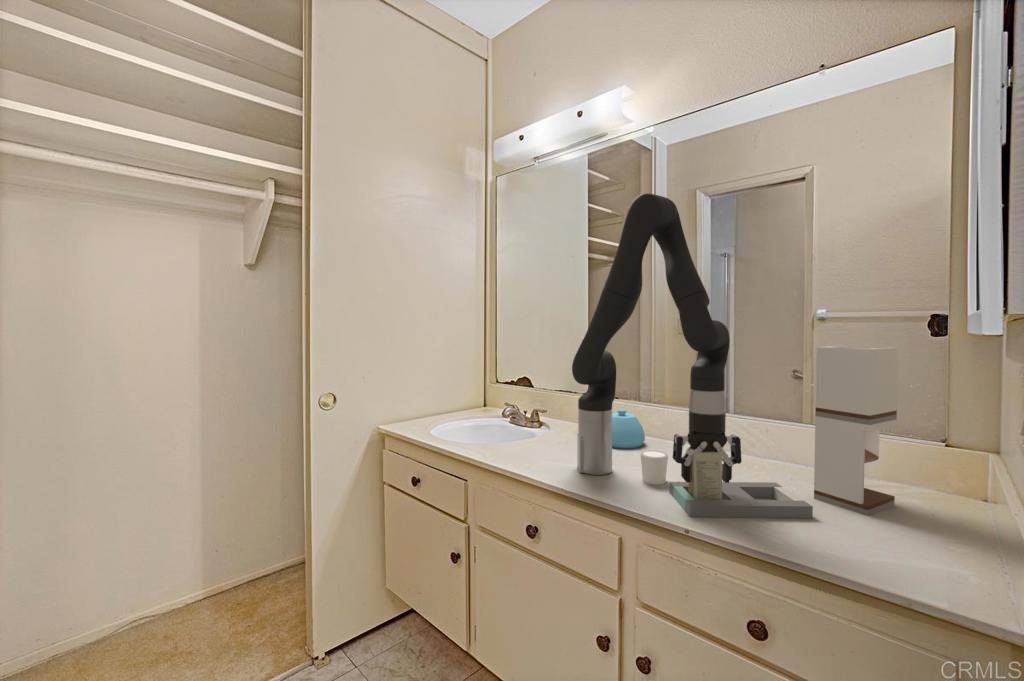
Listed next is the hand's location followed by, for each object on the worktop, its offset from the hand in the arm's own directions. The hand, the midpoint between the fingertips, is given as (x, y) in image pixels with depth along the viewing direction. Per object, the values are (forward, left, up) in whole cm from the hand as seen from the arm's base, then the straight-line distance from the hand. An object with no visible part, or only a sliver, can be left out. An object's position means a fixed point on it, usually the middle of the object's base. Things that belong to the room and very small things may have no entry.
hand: (706, 481), depth 101 cm
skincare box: (0, 0, -5) cm, 5 cm away
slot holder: (+7, 0, -5) cm, 8 cm away
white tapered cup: (-7, +15, -5) cm, 18 cm away
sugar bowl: (-8, +51, -5) cm, 52 cm away
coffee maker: (+34, +2, -5) cm, 34 cm away
